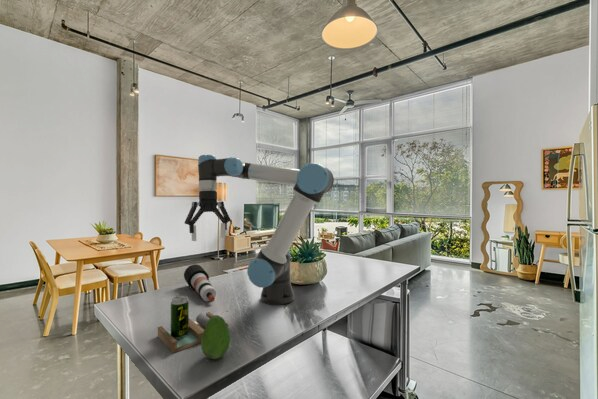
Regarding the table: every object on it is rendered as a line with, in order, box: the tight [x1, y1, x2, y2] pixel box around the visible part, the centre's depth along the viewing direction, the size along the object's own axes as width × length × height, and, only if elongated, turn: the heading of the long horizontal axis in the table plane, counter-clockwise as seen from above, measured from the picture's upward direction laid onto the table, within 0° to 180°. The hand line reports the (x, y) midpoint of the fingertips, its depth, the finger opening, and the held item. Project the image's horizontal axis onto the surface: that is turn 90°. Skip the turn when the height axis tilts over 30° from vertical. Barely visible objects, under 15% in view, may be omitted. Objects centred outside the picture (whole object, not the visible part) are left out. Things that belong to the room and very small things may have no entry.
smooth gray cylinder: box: [195, 313, 210, 328], centre depth 95 cm, size 9×3×3 cm, turn 44°
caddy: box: [157, 311, 229, 354], centre depth 92 cm, size 18×14×3 cm
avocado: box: [200, 314, 231, 360], centre depth 79 cm, size 8×8×12 cm
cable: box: [183, 263, 217, 303], centre depth 133 cm, size 10×34×10 cm, turn 31°
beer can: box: [170, 295, 190, 339], centre depth 89 cm, size 5×5×12 cm
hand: (209, 239), depth 120 cm, fingers open, 13 cm apart
